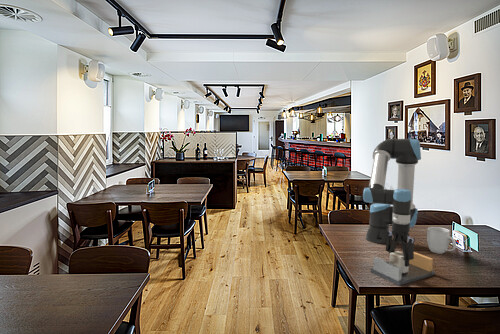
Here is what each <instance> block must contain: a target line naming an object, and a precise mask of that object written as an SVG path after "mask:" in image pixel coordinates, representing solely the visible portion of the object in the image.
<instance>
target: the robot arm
mask: <svg viewBox="0 0 500 334" xmlns="http://www.w3.org/2000/svg"><path fill="white" fill-rule="evenodd" d="M420 143H421V141H420V140H419V139H414V138H387V139H384V140H383V141H382V142H380V143H378V145H376V147H375V148H374V150H373V152H372V159H373V161H372V162H373V163H372V167H371V173H370V179H369V184H368V187H364V188H363V192H362V199H363V202H365V203H369V204H370V206H369V226H368V229H367V232H366V234H365V239H366V240H367V241H369V242H372V243H376V244H385V245H386V246H385V252H388V254H389V255H388V257H389V256H390V253H392V252H396V248H397V246H398V243H400V245H401V249H402V253H403V255H404V259H403V264H402V273H406V272H407V268H408V266H409V260H412V259H414V252H415V251H414V250H415V249H414V248H415V246H414V245H415V244H414V243H415V241H416V239H415V238H414V237H413V238H412V237H410V235H409V232H410V229H411V228H414V227H415V225H416V223H417V219H418V212H419V210H418V208H417V207H416V205H415V204H414V203H413V201H414V200H413V199H414V186H415V182H414V181H415V171H416V170H415V169H416V168H415V167H416V165H417V164H418V163H419V161H420V160H421V159H422V153H421V144H420ZM391 159H392V160H393V159H394V160H395V163H396V164H397V165H398V166H397V167H398V169H397V170H398V171H397V188H395V189H387V188H385V186H386V180H387V179H386V178H387V171H388V165H389V163H388V162H389V161H390V160H391ZM390 226H391V229H392V230H390Z"/></svg>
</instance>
